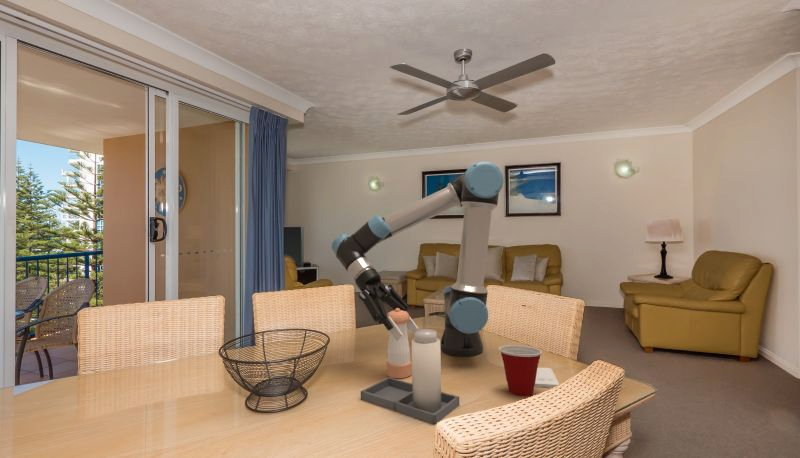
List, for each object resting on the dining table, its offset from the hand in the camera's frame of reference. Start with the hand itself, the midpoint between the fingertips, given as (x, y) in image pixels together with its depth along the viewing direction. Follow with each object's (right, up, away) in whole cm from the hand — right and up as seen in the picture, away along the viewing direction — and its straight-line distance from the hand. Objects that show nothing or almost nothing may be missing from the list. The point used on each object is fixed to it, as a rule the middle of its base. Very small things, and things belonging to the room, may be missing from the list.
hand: (407, 334), depth 109 cm
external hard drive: (+38, -13, -1) cm, 40 cm away
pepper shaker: (-2, -12, +2) cm, 13 cm away
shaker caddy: (0, -13, -16) cm, 21 cm away
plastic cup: (+29, -13, -11) cm, 34 cm away
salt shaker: (+4, -12, -19) cm, 23 cm away
